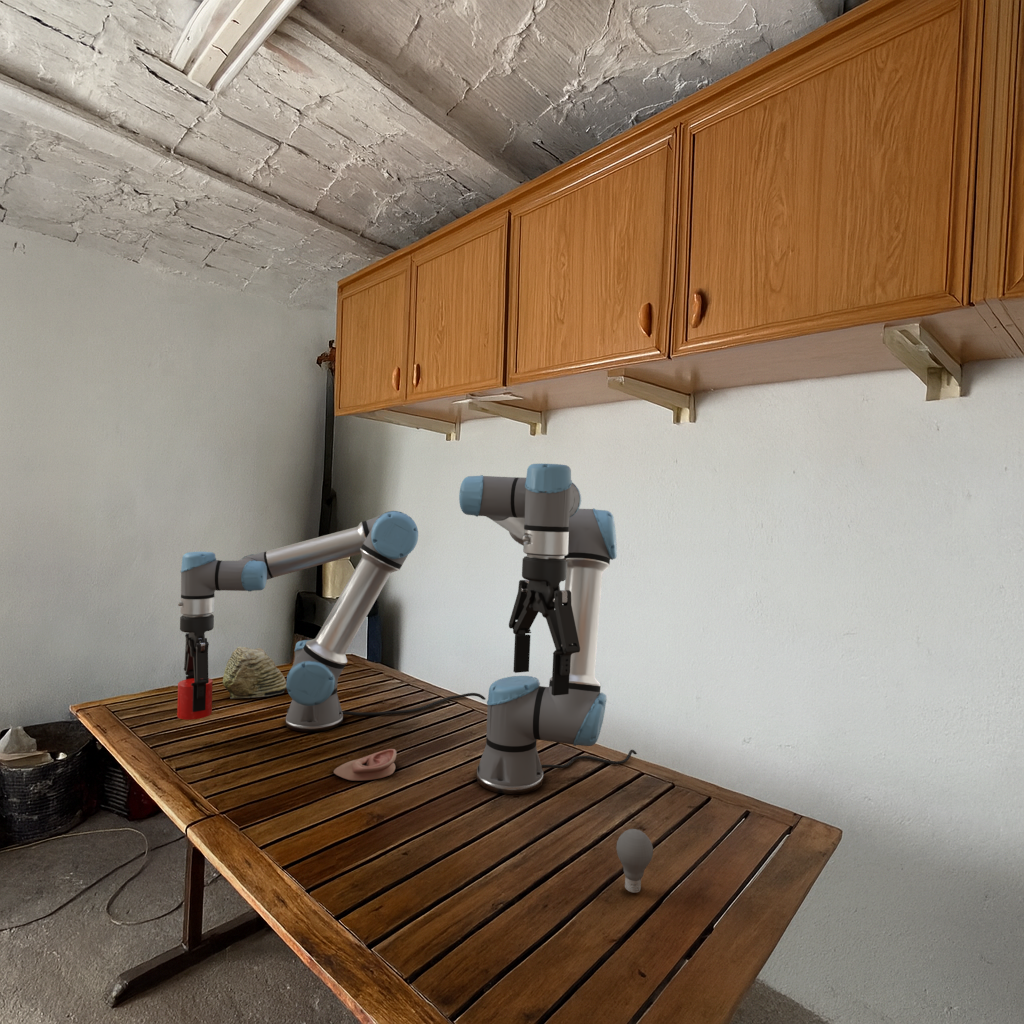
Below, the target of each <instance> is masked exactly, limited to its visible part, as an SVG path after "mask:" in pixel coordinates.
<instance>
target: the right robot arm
mask: <svg viewBox="0 0 1024 1024" xmlns="http://www.w3.org/2000/svg"><path fill="white" fill-rule="evenodd" d="M458 493H459V495H458V501H459V508H460V510H461V512H462V513H463V514H464V515H467V516H475V517H477V518H478V517H486V518H487V519H490V520H492V521H493V523H496V524H497V525H499V526H500V527H501V528H503V529H505V530H506V531H508V534H509V535H510V538H512V540H513V541H515V542H516V543H518V544H519V545H521V546H522V550H523V553H524V554H526V556H523V558H522V561H521V562H522V566H521V577H522V578H523V579H519V581H518V588H517V594H516V598H515V601H514V605H513V608H512V611H511V615H510V618H509V621H508V627H509V629H512V633H513V634H514V648H513V649H514V650H513V673H515V674H517V673H518V674H519V673H528V672H530V654H531V634H532V631H531V628H532V625H533V623H534V622H535V620H536V618H537V616H538V614H539V613H540V614H541V617H543V618H544V619H545V620H546V624H547V626H548V629H549V632H550V635H551V638H552V642H553V645H554V648H555V650H554V651H553V652H552V671H551V672H552V673H551V674H552V675H551V677H550V678H549V681H548V682H549V683H548V686H541V682H540V680H539V678H537V677H534V676H530V675H513V676H507V677H502V678H500V679H497V680H495V681H493V682H492V683H491V684H490V686H489V688H488V696H487V700H486V705H487V710H486V711H487V712H486V733H485V734H486V737H485V747H484V749H483V752H482V755H481V758H480V761H479V763H478V765H477V767H476V781H477V783H478V784H479V785H480V786H481V787H482V788H484V789H485V790H488V791H491V792H493V793H498V794H504V795H521V794H527V793H531V792H533V791H536V790H538V789H539V788H540V787H541V786H542V785H543V783H544V771H543V769H565V768H568V767H569V766H571V765H572V763H573V762H575V761H578V760H584V759H585V760H592V761H596V762H599V763H603V764H608V765H624V764H625V763H627V762H628V761H629V760H630V758H631V757H632V754H633V755H637V754H638V753H637V751H636V750H635V749H629V751H628V753H627V755H626V756H625V758H624V759H622V760H607V759H605V758H604V759H603V758H600V757H595V756H591V755H577V756H574V757H572V758H571V759H570V760H569V761H568V762H567V763H565V764H541V759H540V757H539V756H540V755H539V752H538V749H537V741H543V742H545V741H546V742H552V743H559V744H565V745H572V746H574V747H576V746H580V747H592V746H594V745H595V744H596V743H597V742H598V740H599V737H600V734H601V730H602V727H603V724H604V723H603V722H604V718H605V713H606V707H607V706H606V705H607V694H606V693H604V692H601V686H602V685H601V683H600V682H599V681H598V679H597V678H596V663H597V650H598V649H597V648H598V637H599V623H600V609H601V599H602V598H601V596H602V583H603V574H604V572H605V571H606V570H608V569H609V568H610V565H611V560H615V559H617V557H618V552H617V551H618V547H617V532H616V523H615V518H614V514H612V512H611V511H610V510H605V509H596V508H580V507H581V505H582V494H581V491H580V489H579V488H578V486H577V485H576V484H575V483H574V482H573V480H572V469H571V468H570V465H569V466H568V465H567V464H561V463H531V464H530V465H529V466H528V467H527V469H526V476H525V477H516V476H515V477H514V476H492V475H491V476H490V475H483V474H480V475H469V476H466V477H464V479H463V480H462V481H461V483H460V487H459V492H458ZM562 582H564V589H561V585H560V584H561V583H562Z"/></svg>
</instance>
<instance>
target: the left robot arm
mask: <svg viewBox="0 0 1024 1024" xmlns="http://www.w3.org/2000/svg"><path fill="white" fill-rule="evenodd" d="M418 541H419V530H418V526H417V524H416V522H415V520H414V519H413V518H412V517H411V516H410V515H409V514H407V513H404V512H402V511H398V510H389V511H385V512H384V513H383V512H382V513H381V514H379V515H377V516H375V517H372V518H370V519H367V520H366V519H365V520H363V521H360V522H359V524H358V525H357V526H354V527H350V528H347V529H343V530H340V531H339V530H338V531H336V532H332V533H329V534H324V535H321V536H318V537H314V538H310V539H307V540H303V541H299V542H295V543H291V544H288V545H285V546H281V547H276V548H273V549H269V550H265V551H262V552H258V553H251V554H248V555H245V556H243V557H242V558H241V559H239V560H220V559H217V558H216V553H214V552H212V551H189V552H188V551H187V552H185V553H184V554H183V555H182V557H181V568H180V569H181V570H180V601H179V602H177V606H178V607H180V614H181V616H180V617H179V631H180V632H182V633H185V634H184V637H185V645H184V646H185V648H184V662H183V663H184V665H183V666H184V667H183V670H184V673H185V680H186V679H191V678H194V683H192V684H191V686H193V712H197V711H203V710H205V705H206V683H208V682H209V680H208V678H209V646H210V643H209V641H208V638H207V637H206V634H205V633H206V632H210V631H212V630H214V626H215V615H214V614H213V613H215V604H216V603H215V601H216V600H215V599H216V596H215V592H216V591H219V592H221V591H232V592H234V591H236V592H240V591H242V592H253V591H254V592H255V591H256V592H257V591H262V590H264V589H266V586H267V582H268V581H267V580H270V579H274V578H277V577H281V576H285V575H289V574H292V573H295V572H299V571H303V570H305V569H310V568H314V567H317V566H321V565H325V564H328V563H329V564H330V563H333V562H335V561H341V560H343V559H346V558H350V557H354V556H359V555H361V558H360V559H359V561H358V563H357V565H356V567H355V569H354V570H353V572H352V574H351V575H350V577H349V579H348V580H347V583H346V585H345V586H344V588H343V590H342V592H341V593H340V595H339V597H338V599H337V600H336V602H335V604H334V605H333V607H332V609H331V610H330V613H329V614H328V616H327V618H326V619H325V620H324V622H323V625H322V626H321V627H320V630H319V631H318V633H317V635H316V636H315V638H313V639H303V640H299V641H297V642H296V643H295V648H294V650H293V651H294V661H293V664H292V666H291V668H290V670H288V673H287V675H286V678H285V680H286V692H287V693H288V696H289V697H290V698H291V702H290V704H289V708H287V709H286V715H285V726H286V728H287V729H289V730H291V731H294V732H295V731H296V732H301V733H316V732H325V731H329V730H332V729H335V728H337V727H339V726H340V725H342V723H343V722H344V715H345V716H355V717H356V716H359V717H360V716H361V717H370V716H373V717H375V716H389V715H390V716H391V715H400V714H409V713H410V714H411V713H416V712H419V711H423V710H426V709H429V708H431V707H433V706H436V705H439V704H441V703H444V702H446V701H451V700H454V699H455V700H456V699H462V698H466V697H467V698H468V697H478V698H480V699H481V700H486V701H487V699H486V697H485V696H484V695H483V694H481V693H477V692H468V693H462V694H457V695H451V696H447V697H444V698H442V699H439V700H435V701H433V702H430V703H428V704H426V705H423V706H420V707H415V708H410V709H402V710H391V711H390V710H389V711H371V712H370V711H369V712H368V711H367V712H366V711H365V712H360V711H358V712H357V711H349V710H348V711H345V710H343V709H342V706H341V702H340V699H339V695H338V682H339V681H338V680H339V678H340V676H341V675H342V673H343V671H344V669H345V667H346V665H347V663H348V658H347V656H346V654H347V651H348V650H349V648H350V646H351V645H352V643H353V641H354V639H355V637H356V636H357V635H358V632H359V630H360V629H361V627H362V625H363V623H364V622H365V620H366V619H367V616H368V615H369V613H370V611H371V610H372V608H373V606H374V604H375V602H376V601H377V599H378V598H379V595H380V593H381V591H382V590H383V588H384V587H385V585H386V583H387V581H388V579H389V578H390V576H391V574H393V573H394V572H399V571H400V570H401V568H402V567H403V565H404V563H405V562H406V560H407V558H408V556H409V555H410V554H411V553H412V552H413V551H414V549H415V548H416V546H417V543H418Z"/></svg>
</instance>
